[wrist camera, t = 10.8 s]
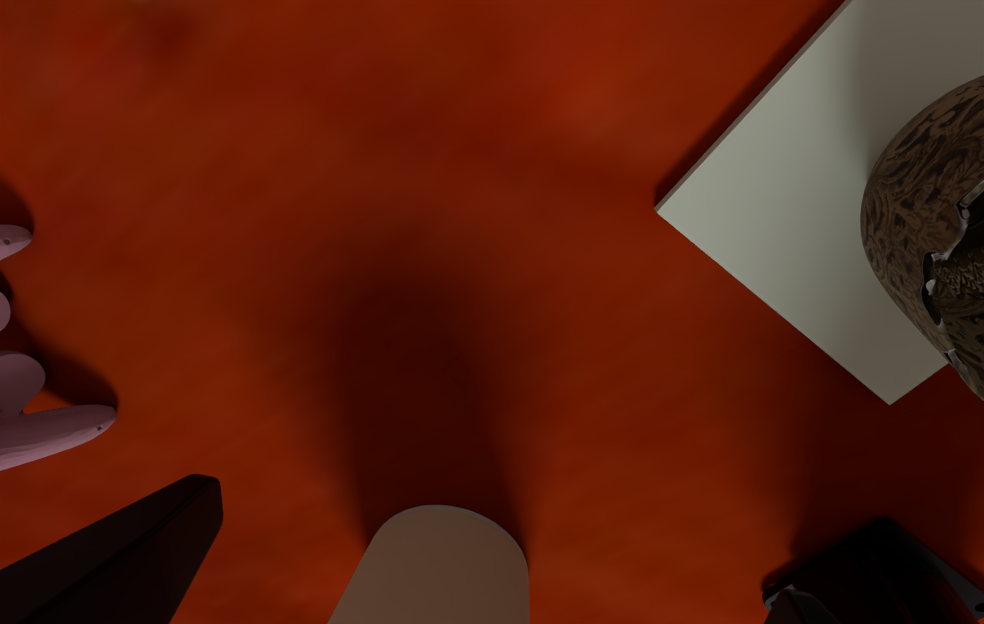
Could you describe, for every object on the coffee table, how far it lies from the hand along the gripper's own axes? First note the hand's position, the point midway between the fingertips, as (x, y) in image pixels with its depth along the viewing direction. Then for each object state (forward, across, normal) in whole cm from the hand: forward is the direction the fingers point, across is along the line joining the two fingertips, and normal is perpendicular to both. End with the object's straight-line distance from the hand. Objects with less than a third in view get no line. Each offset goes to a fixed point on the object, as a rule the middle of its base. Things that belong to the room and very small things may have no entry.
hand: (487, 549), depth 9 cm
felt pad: (+12, -11, -5) cm, 17 cm away
